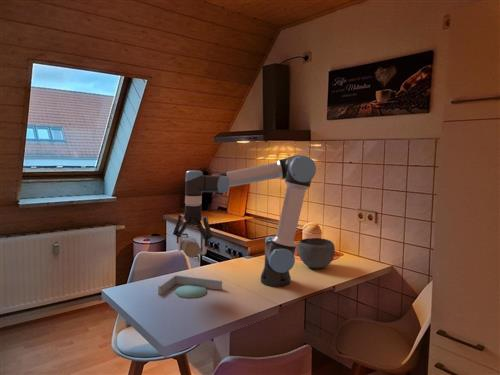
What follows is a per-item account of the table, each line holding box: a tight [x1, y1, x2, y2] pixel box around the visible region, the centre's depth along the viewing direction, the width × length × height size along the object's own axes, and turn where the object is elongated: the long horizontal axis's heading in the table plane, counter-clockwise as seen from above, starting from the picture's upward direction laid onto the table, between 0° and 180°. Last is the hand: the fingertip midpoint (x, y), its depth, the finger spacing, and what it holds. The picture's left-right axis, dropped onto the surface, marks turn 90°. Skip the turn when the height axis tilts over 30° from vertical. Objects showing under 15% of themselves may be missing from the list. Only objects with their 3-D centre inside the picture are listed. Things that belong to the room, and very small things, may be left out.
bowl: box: [297, 237, 336, 270], centre depth 216 cm, size 21×21×15 cm
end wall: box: [157, 274, 177, 296], centre depth 176 cm, size 1×15×4 cm, turn 165°
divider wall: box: [174, 274, 223, 291], centre depth 181 cm, size 24×1×4 cm, turn 75°
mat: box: [175, 285, 207, 299], centre depth 173 cm, size 14×14×1 cm
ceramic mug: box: [181, 236, 206, 258], centre depth 173 cm, size 11×8×8 cm
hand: (192, 251), depth 173 cm, fingers closed on ceramic mug, 11 cm apart
